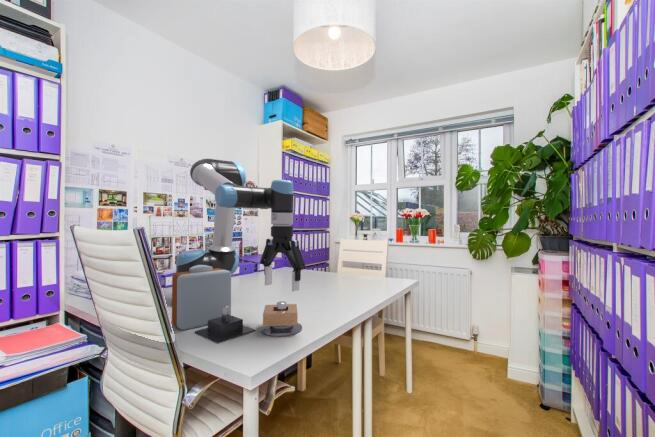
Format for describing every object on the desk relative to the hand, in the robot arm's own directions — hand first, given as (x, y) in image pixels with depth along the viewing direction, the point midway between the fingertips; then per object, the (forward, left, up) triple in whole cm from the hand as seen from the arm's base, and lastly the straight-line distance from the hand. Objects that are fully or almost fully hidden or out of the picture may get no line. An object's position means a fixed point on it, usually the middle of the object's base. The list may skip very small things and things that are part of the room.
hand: (281, 287), depth 107 cm
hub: (0, 0, -14) cm, 14 cm away
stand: (-12, -14, -14) cm, 23 cm away
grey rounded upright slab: (-27, -14, -14) cm, 34 cm away
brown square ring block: (0, -1, -11) cm, 11 cm away
